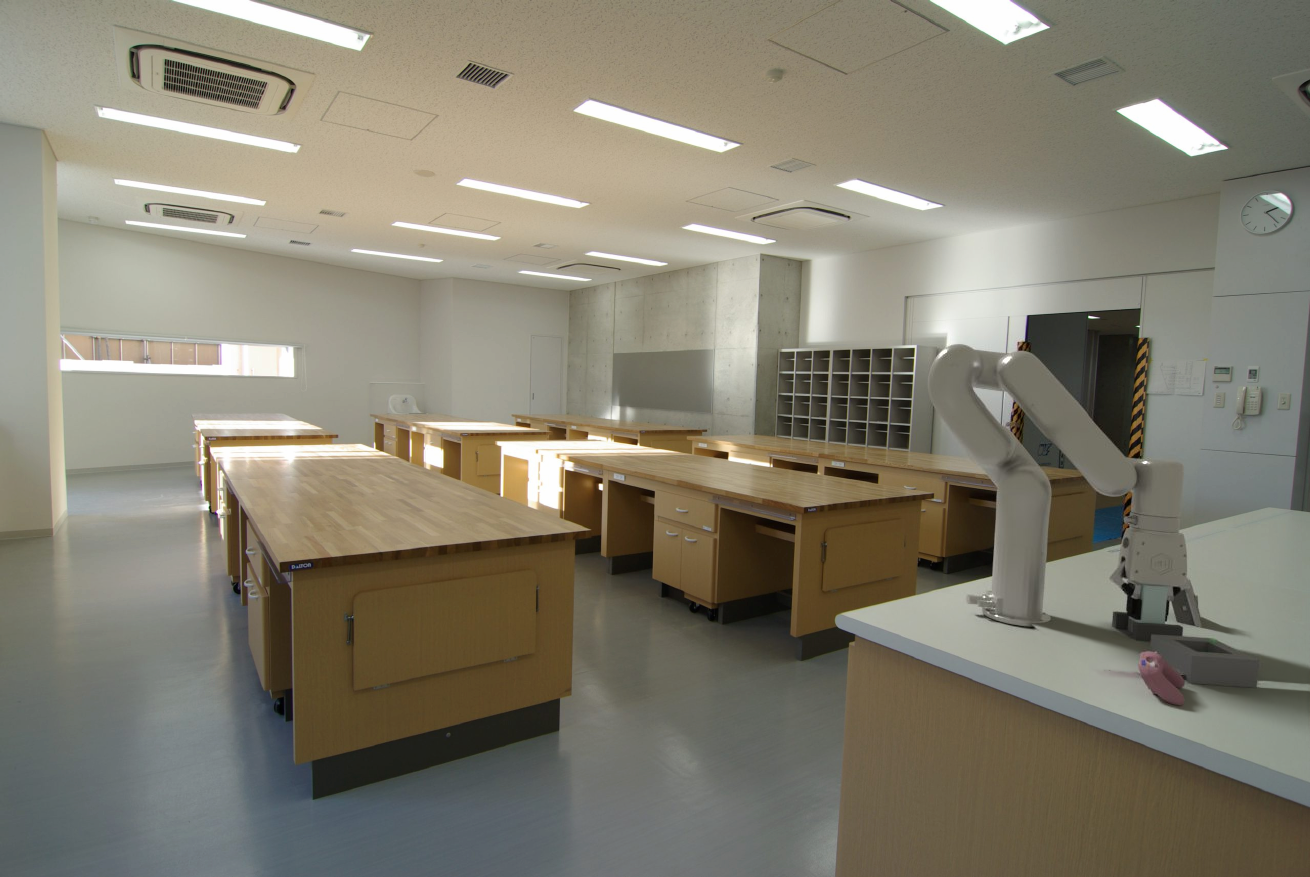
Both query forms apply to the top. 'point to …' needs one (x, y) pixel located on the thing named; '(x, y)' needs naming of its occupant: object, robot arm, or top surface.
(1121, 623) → the dark grey flanged block
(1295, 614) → the top surface
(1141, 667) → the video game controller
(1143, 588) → the plug
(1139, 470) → the robot arm
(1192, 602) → the electrical switch
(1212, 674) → the port
